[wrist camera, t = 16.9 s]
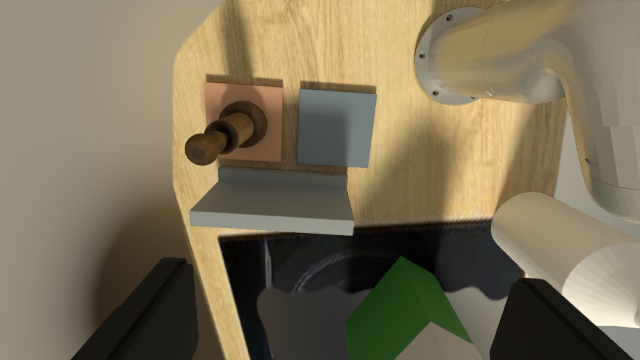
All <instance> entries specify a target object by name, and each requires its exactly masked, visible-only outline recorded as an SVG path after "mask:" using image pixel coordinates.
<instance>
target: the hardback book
mask: <svg viewBox="0 0 640 360" xmlns="http://www.w3.org/2000/svg"><path fill="white" fill-rule="evenodd" d="M345 326H346V335H347V345H348V355H349V360H482V358H481V356H480V355H479V353H478V351H477V349H476V348H475V346H474V344H473V342H472V341H471V339H470V337H469V335H468V334H467V332H466V330H465V329H464V327H463V325H462V323H461V322H460V320H459V318H458V316H457V315H456V313H455V311H454V309H453V308H452V306H451V304H450V302H449V301H448V299H447V297H446V295H445V294H444V292H443V290H442V288H441V287H440V285H439V283H438V281H437V280H436V278H435V276H434V275H433V274H432V273H430V272H428V271H427V270H425V269H423V268H421V267H420V266H418V265H416V264H414V263H413V262H411V261H409V260H407V259H406V258H404V257H402V256H400V257H399V259H398V260H397V261H396V262H395V263H394V265H393V266H392V267H391V268H390V269H389V271H388V272H387V273H386V274H385V275H384V277H383V278H382V279H381V280H380V281H379V283H378V284H377V285H376V286H375V287H374V289H373V290H372V291H371V292H370V293H369V295H368V296H367V297H366V298H365V299H364V301H363V302H362V303H361V304H360V305H359V307H358V308H357V309H356V310H355V311H354V313H353V314H352V315H351V316H350V317H349V319H348V320H347V321H346V322H345Z"/></svg>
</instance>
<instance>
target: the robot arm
mask: <svg viewBox="0 0 640 360" xmlns="http://www.w3.org/2000/svg"><path fill="white" fill-rule="evenodd" d="M447 17H448V18H449V20H448V21H447V20H446V18H447ZM420 54H422V57H421V58H420V57H419V55H420ZM414 69H415V75H416V78H417V81H418V84H419V85H420V87H421V89H422V90H423V91H424V92H425V94H426V95H427V96H428V97H430V98H431V99H433V100H434V101H437V102H439V103H442V104H446V105H455V106H457V105H465V104H468V103H471V102H474V101H476V100H478V99H480V98H485V99H493V100H500V101H507V102H515V103H524V104H540V103H547V102H551V101H554V100H557V99H560V98H562V97H565V96H566V100H567V105H568V110H569V114H570V116H571V120H572V125H573V130H574V135H575V140H576V146H577V151H578V156H579V161H580V165H581V170H582V175H583V178H584V182H585V185H586V188H587V190H588V192H589V194H590V196H591V197H592V199H593V200H594V201H595V202H596V203H597V204H598V205H599V206H600V207H601V208H602V209H604V210H605V211H607V212H608V213H610V214H612V215H614V216H616V217H618V218H621V219H623V220H626V221H629V222H633V223H636V224H640V0H509V1H507V2H504V3H502V4H499V5H497V6H494V7H492V8H489V9H487V10H484V9H482V8H477V7H461V8H457V9H454V10H451V11H449V12H447V13H445V14H443V15H442V16H440V17H438V18H437V19H436V20H435V21H434V22H432V23H431V24H430V26H429V27H428V28H427V29H426V30H425V32H424V33H423V35H422V37H421V38H420V40H419V43H418V46H417V48H416V53H415V58H414ZM433 91H435V94H434V95H433ZM198 339H199V334H198V322H197V310H196V299H195V287H194V275H193V266H192V265H191V264H187V261H186V259H185V258H172V257H164V258H162V259H161V260H160V261H159V262H158V263H157V264H156V266H155V267H154V268H153V269H152V270H151V271H150V273H149V274H148V275H147V276H146V277H145V278H144V279H143V281H142V282H141V283H140V284H139V285H138V286H137V288H136V289H135V290H134V291H133V292H132V293H131V294H130V295H129V297H128V298H127V299H126V300H125V302H123V304H122V305H121V306H119V307H118V308H116V309H115V310H114V311H113V312H112V313H111V314H110V315H109V317H108V318H107V319H106V320H105V321H104V322H103V323H102V325H101V326H100V327H99V328H98V329H97V330H96V331H95V333H94V334H93V335H92V336H91V337H90V338H89V339H88V340H87V342H86V343H85V344H84V345H83V346H82V347H81V348H80V350H79V351H78V352H77V353H76V354H75V355H74V357H73V358H72V359H71V360H191V359H192V357H193V355H194V353H195V351H196V348H197V345H198ZM490 360H634V359H632V358H631V357H630V356H629V355H628V354H627V353H626V352H625V351H624V350H623V349H621V348H620V347H619V346H618V345H617V344H616V343H615V342H614V341H613V340H611V339H610V338H609V337H608V336H607V335H606V334H605V333H604V332H602V331H601V330H600V329H599V328H598V327H597V326H596V325H595V324H594V323H593V322H592V321H590V320H589V319H588V318H587V317H586V316H585V315H584V314H583V313H582V312H580V311H579V310H578V309H577V308H576V307H575V306H574V305H573V304H572V303H570V302H569V301H568V300H567V299H566V298H565V297H564V296H563V295H562V294H561V293H559V292H558V291H557V290H556V289H555V288H554V287H553V286H552V285H551V284H549V283H548V282H547V281H546V280H544V279H539V278H520V279H518V280H517V282H516V283H514V284H512V286H511V289H510V292H509V295H508V298H507V301H506V304H505V307H504V311H503V313H502V316H501V319H500V322H499V325H498V328H497V331H496V334H495V337H494V340H493V343H492V346H491V349H490Z"/></svg>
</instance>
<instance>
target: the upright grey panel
mask: <svg viewBox="0 0 640 360" xmlns="http://www.w3.org/2000/svg"><path fill="white" fill-rule="evenodd" d="M218 178H219V181H218V182H217V183H216V184H215V185H214V186H213V187H212V188H211V189H210V190H209V191H208V192H207V193H206V194H205V195H204V197H203V198H202V199H201V200H200V201H199V202H198V203H197V204H196V205H195V206H194V207H193V208H192V209H191V210H190V211H189V212H190V224H191V226H202V227H219V228H236V229H253V230H269V231H286V232H303V233H320V234H336V235H353V228H354V218H353V214H352V209H351V205H350V201H349V197H348V192H347V181H348V175H347V174H340V173H325V172H309V171H294V170H278V169H262V168H247V167H231V166H220V167H219V168H218Z"/></svg>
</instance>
